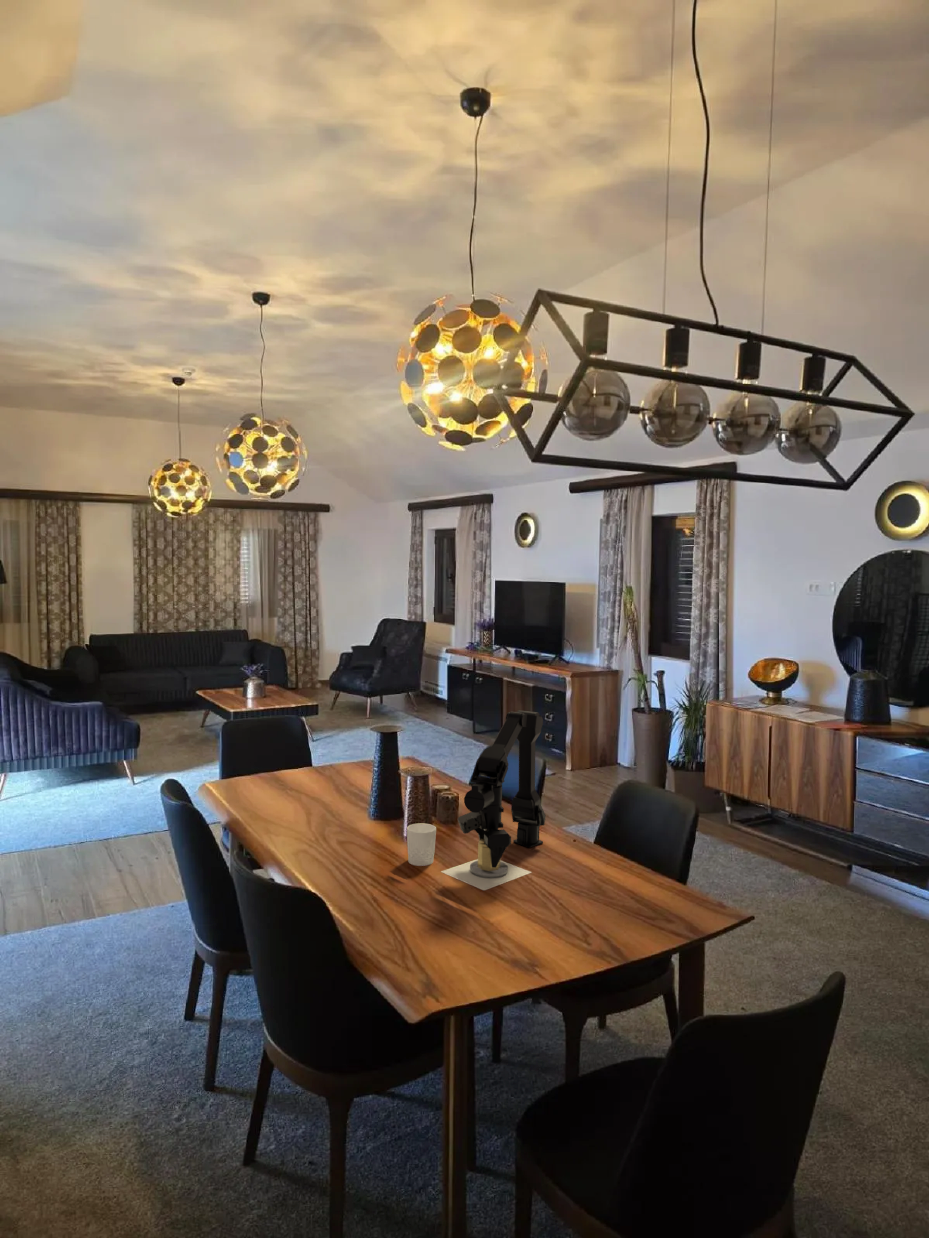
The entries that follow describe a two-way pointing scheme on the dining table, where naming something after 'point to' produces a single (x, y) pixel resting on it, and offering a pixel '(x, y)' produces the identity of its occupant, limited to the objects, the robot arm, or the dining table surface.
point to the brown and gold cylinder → (485, 857)
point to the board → (466, 876)
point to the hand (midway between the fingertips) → (489, 860)
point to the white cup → (421, 843)
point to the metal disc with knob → (488, 874)
